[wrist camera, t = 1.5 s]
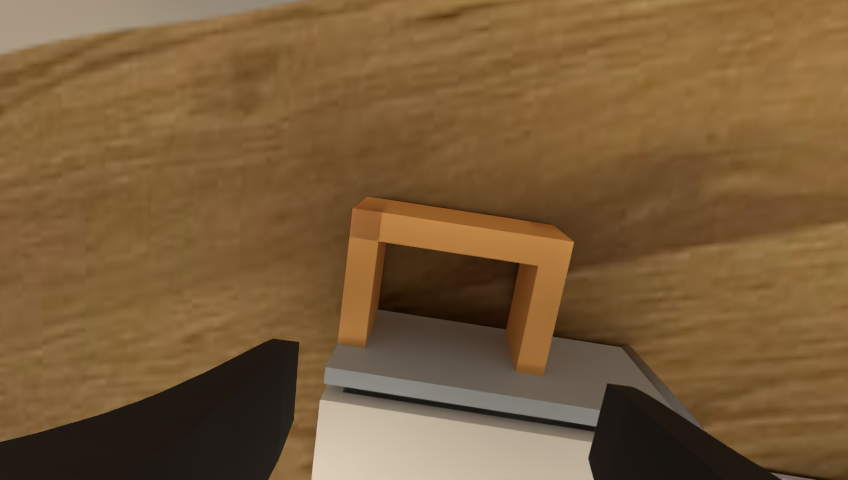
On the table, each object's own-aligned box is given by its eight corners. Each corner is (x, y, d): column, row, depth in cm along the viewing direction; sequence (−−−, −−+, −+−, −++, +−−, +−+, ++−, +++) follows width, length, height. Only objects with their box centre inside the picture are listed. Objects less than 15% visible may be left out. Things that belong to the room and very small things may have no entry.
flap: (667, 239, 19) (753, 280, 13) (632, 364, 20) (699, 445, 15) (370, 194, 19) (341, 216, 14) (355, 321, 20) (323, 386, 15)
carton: (619, 365, 20) (689, 457, 15) (579, 512, 22) (627, 647, 16) (355, 324, 20) (319, 399, 15) (337, 474, 22) (299, 594, 16)
